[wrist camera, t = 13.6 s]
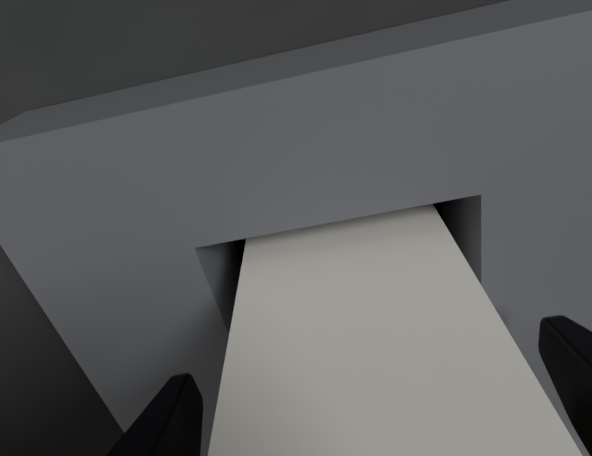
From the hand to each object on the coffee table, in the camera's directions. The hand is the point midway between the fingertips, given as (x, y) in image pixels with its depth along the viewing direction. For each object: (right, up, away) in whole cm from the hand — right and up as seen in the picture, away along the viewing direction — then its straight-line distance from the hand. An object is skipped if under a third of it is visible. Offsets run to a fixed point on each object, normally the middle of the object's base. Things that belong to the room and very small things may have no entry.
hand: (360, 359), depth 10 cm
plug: (0, +2, +3) cm, 4 cm away
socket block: (+1, -1, +5) cm, 6 cm away
